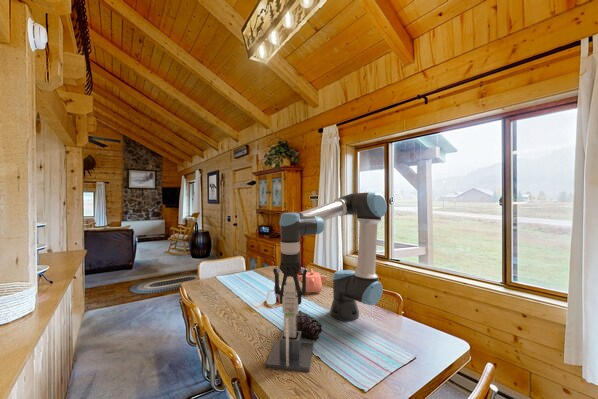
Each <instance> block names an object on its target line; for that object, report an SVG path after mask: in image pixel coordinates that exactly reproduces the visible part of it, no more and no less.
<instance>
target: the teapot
mask: <svg viewBox="0 0 598 399" xmlns="http://www.w3.org/2000/svg"><path fill="white" fill-rule="evenodd" d="M302 275H303V274H301V275H298V280H299V283H301V284H302ZM327 277H328V276H327V275H323V274H322V275H321V274H320V272H316V271H314V269H313V268H310V272H309V271H307V273H306V293H305V295H308V294H310V293H315V294H316V295H319V294H320V293H321V291H322V288H323V284H324V283H325V282H326V280H327V279H328V278H327ZM322 278H323V279H322Z"/></svg>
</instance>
